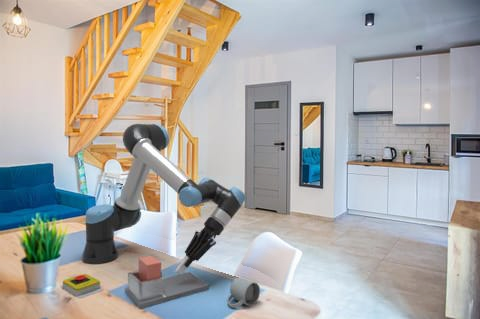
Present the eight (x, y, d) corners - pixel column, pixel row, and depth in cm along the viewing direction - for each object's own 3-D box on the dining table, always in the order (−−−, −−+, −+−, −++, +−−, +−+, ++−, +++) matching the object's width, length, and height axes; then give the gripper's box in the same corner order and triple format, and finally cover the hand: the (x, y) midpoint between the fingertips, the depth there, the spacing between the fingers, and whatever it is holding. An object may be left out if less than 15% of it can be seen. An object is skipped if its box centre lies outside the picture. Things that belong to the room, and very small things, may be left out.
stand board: (125, 291, 129) (124, 287, 129) (189, 275, 144) (189, 271, 144) (140, 308, 117) (140, 303, 116) (208, 289, 132) (208, 284, 132)
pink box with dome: (138, 287, 128) (138, 258, 127) (154, 283, 132) (154, 255, 131) (147, 296, 122) (147, 265, 121) (163, 291, 125) (163, 261, 124)
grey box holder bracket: (128, 289, 127) (127, 272, 127) (152, 283, 133) (152, 267, 132) (139, 301, 118) (139, 284, 118) (164, 294, 124) (164, 277, 123)
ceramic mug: (243, 293, 129) (243, 273, 128) (260, 301, 123) (260, 279, 122) (221, 304, 121) (221, 282, 120) (238, 312, 115) (238, 290, 115)
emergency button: (83, 269, 139) (104, 279, 130) (84, 280, 140) (104, 291, 130) (59, 276, 132) (79, 287, 123) (59, 287, 132) (79, 300, 123)
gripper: (232, 231, 137) (193, 284, 128) (214, 224, 147) (177, 272, 139) (220, 219, 133) (179, 273, 125) (203, 213, 144) (164, 262, 136)
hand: (178, 272), depth 132 cm, fingers closed
